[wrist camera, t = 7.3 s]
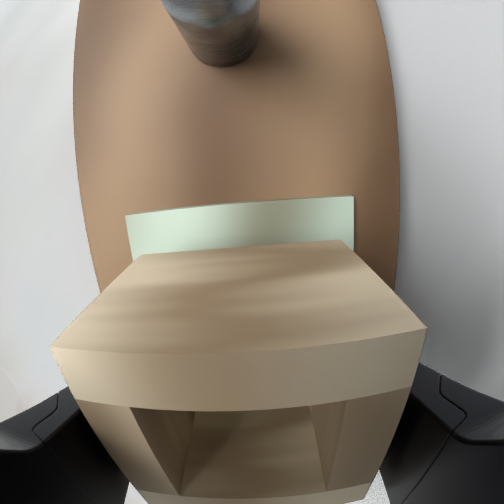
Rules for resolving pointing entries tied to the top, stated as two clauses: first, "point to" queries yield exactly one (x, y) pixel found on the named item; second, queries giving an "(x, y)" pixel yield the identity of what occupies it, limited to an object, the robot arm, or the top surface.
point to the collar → (245, 373)
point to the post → (217, 28)
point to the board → (235, 134)
